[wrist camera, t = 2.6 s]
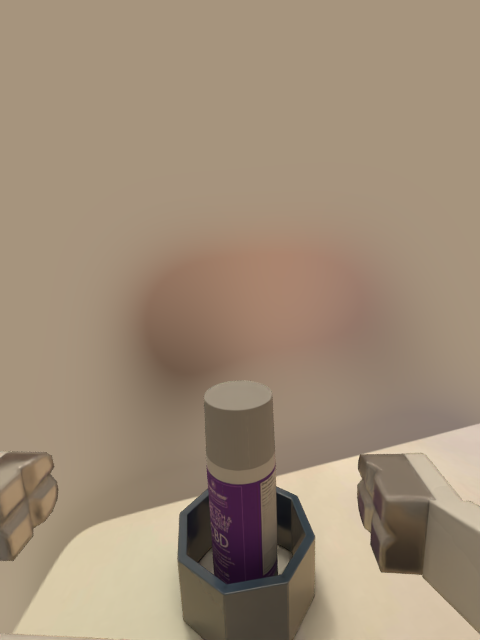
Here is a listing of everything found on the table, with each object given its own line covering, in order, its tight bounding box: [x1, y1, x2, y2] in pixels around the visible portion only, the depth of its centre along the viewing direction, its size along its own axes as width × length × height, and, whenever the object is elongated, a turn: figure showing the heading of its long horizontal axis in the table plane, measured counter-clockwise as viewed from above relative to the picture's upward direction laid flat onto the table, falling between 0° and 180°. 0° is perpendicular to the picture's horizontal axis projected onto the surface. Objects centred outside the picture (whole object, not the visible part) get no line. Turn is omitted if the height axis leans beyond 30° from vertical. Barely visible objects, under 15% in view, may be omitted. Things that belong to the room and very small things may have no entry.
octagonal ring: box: [177, 487, 315, 640], centre depth 24 cm, size 9×9×5 cm
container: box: [204, 381, 278, 584], centre depth 23 cm, size 5×5×15 cm
